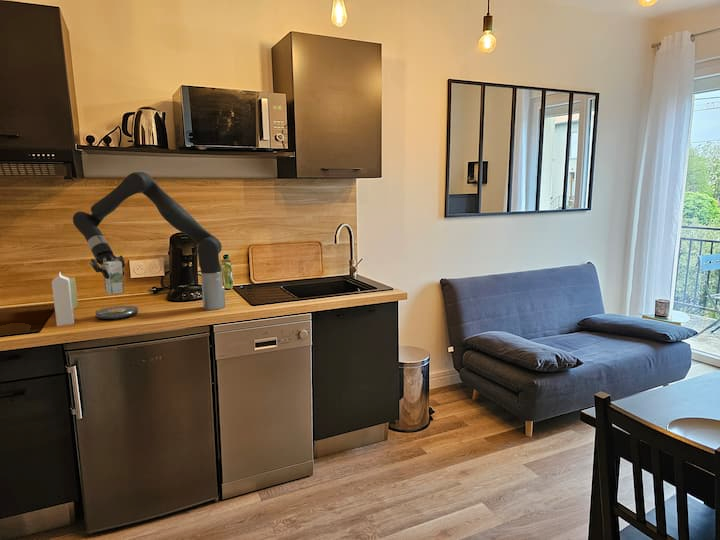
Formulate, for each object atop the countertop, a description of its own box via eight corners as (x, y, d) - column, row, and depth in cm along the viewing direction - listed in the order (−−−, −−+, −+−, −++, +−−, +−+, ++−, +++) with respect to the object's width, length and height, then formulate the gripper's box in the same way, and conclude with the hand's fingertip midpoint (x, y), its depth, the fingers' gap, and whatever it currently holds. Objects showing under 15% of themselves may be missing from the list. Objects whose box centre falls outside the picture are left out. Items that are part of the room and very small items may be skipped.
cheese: (75, 317, 216) (72, 284, 213) (50, 320, 211) (45, 286, 209) (78, 306, 235) (75, 276, 233) (55, 309, 231) (51, 278, 228)
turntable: (126, 307, 228) (126, 303, 228) (145, 312, 218) (145, 308, 218) (88, 314, 215) (88, 311, 215) (107, 321, 205) (106, 317, 205)
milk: (57, 326, 202) (50, 274, 198) (58, 322, 207) (51, 272, 203) (73, 324, 204) (67, 272, 200) (74, 320, 210) (68, 270, 206)
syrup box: (118, 291, 219) (115, 259, 217) (124, 293, 215) (121, 260, 213) (105, 293, 215) (102, 261, 212) (111, 295, 211) (108, 262, 209)
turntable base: (124, 311, 225) (124, 309, 225) (137, 315, 218) (137, 312, 218) (97, 316, 216) (97, 314, 215) (110, 321, 208) (110, 318, 208)
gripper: (85, 243, 210) (101, 274, 205) (118, 240, 221) (134, 269, 216) (81, 255, 214) (96, 284, 209) (113, 251, 225) (129, 279, 220)
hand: (115, 276), depth 213 cm, fingers closed on syrup box, 5 cm apart
